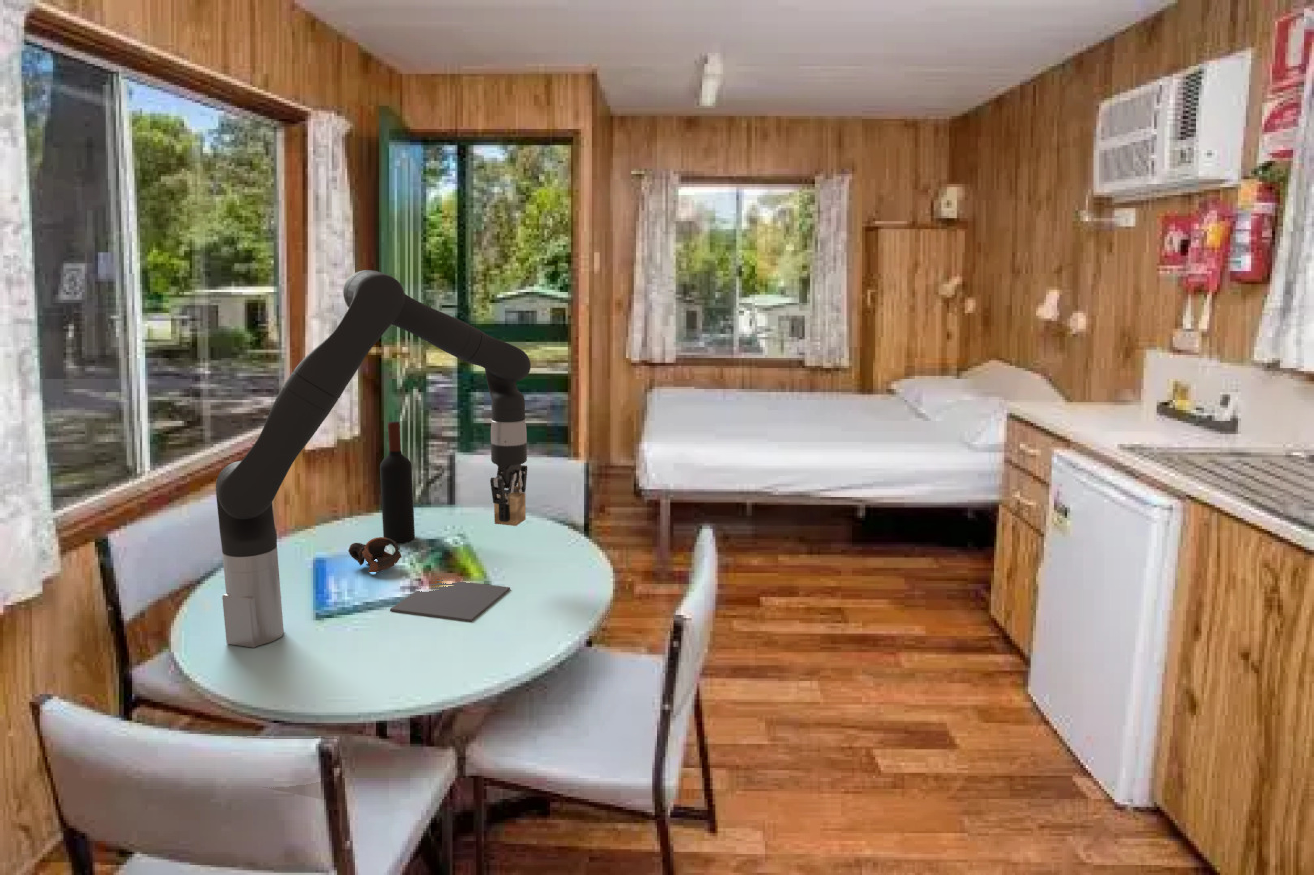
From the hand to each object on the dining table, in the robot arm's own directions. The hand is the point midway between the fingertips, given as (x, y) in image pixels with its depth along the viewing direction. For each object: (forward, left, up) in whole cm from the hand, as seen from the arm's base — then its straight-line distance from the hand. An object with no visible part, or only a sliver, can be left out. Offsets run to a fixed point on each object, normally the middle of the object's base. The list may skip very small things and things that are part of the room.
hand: (510, 517), depth 194 cm
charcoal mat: (-13, +8, -15) cm, 21 cm away
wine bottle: (+19, +40, -15) cm, 47 cm away
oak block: (0, 0, -1) cm, 1 cm away
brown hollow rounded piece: (-1, +33, -15) cm, 37 cm away
